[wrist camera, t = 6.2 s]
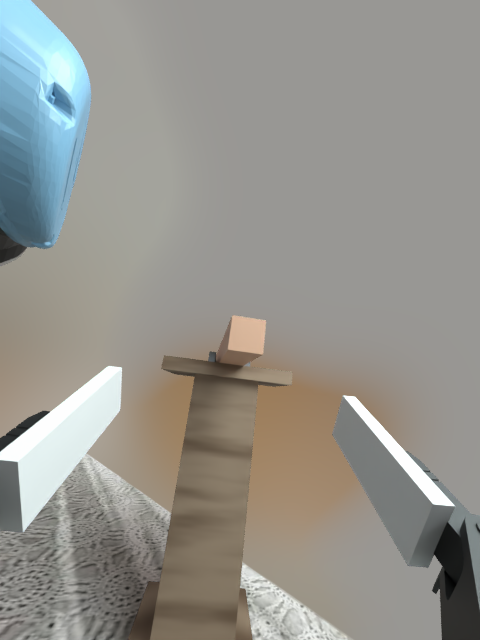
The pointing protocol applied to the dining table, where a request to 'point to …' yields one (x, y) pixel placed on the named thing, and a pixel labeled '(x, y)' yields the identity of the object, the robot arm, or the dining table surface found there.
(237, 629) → the wooden post with band
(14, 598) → the dining table surface
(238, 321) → the bar
